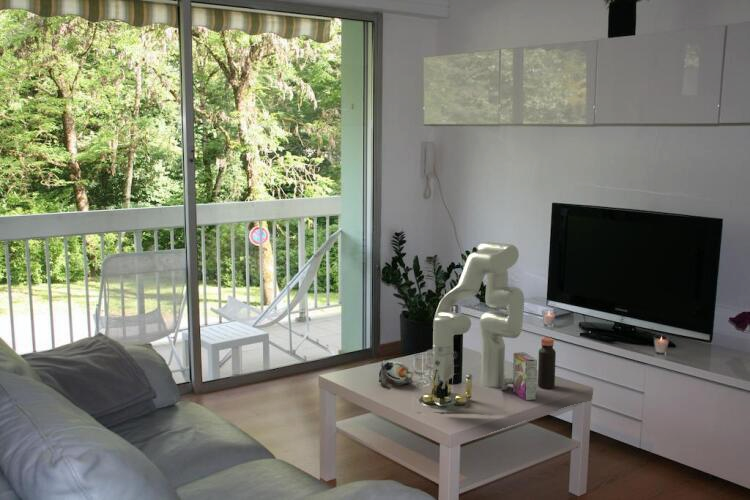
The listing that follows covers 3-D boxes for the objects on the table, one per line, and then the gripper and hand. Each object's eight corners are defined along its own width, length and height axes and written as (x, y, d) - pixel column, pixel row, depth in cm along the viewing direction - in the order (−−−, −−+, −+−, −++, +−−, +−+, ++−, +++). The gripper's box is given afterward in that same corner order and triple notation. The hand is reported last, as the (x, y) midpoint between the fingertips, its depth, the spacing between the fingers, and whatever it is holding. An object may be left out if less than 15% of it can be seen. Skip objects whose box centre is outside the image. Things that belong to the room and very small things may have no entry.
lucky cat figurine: (417, 381, 328) (421, 358, 319) (404, 400, 319) (408, 376, 310) (385, 368, 332) (388, 344, 324) (372, 386, 324) (375, 362, 315)
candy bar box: (512, 392, 314) (512, 352, 312) (523, 391, 315) (524, 351, 313) (525, 401, 303) (526, 360, 301) (536, 399, 305) (537, 359, 302)
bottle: (557, 386, 321) (559, 339, 318) (548, 390, 316) (549, 342, 314) (543, 382, 326) (545, 336, 323) (534, 386, 321) (535, 339, 318)
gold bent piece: (463, 406, 292) (463, 381, 291) (452, 403, 295) (453, 379, 294) (475, 399, 300) (475, 375, 299) (465, 397, 303) (465, 373, 301)
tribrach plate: (470, 396, 309) (471, 389, 308) (471, 414, 289) (471, 406, 289) (420, 395, 311) (420, 388, 310) (417, 412, 291) (417, 405, 291)
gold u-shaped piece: (445, 391, 310) (445, 368, 308) (453, 394, 306) (453, 370, 305) (427, 396, 304) (428, 372, 302) (435, 399, 300) (435, 375, 299)
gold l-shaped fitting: (420, 402, 296) (420, 378, 295) (427, 399, 300) (427, 375, 299) (441, 408, 291) (441, 383, 289) (448, 404, 294) (448, 380, 293)
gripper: (443, 355, 282) (442, 405, 284) (460, 346, 295) (459, 393, 298) (424, 353, 285) (424, 401, 287) (442, 343, 299) (441, 390, 301)
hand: (442, 397), depth 293 cm, fingers closed
